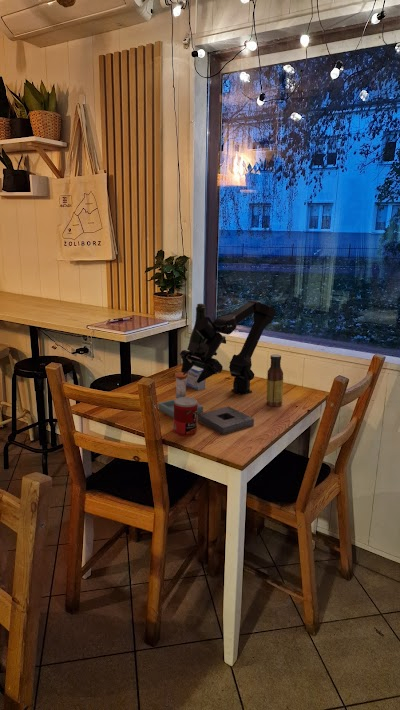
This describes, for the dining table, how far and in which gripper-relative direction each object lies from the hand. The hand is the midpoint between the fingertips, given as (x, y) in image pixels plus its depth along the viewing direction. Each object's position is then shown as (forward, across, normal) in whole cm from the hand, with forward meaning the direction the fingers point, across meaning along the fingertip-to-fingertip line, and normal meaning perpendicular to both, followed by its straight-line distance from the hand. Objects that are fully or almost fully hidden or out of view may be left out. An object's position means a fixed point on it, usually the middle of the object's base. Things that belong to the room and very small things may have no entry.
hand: (189, 379), depth 178 cm
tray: (+11, 0, +5) cm, 12 cm away
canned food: (+19, +15, -2) cm, 24 cm away
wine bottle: (-15, -30, +32) cm, 46 cm away
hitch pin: (+11, 0, +5) cm, 12 cm away
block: (+8, +19, +8) cm, 22 cm away
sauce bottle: (-12, +18, +29) cm, 36 cm away
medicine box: (-5, -16, +22) cm, 28 cm away
